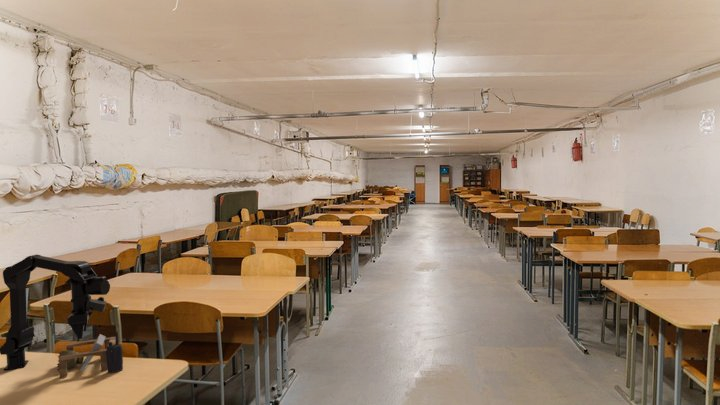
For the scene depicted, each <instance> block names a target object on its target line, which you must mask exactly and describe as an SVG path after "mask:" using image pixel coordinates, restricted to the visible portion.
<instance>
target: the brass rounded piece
mask: <svg viewBox="0 0 720 405" xmlns="http://www.w3.org/2000/svg"><path fill="white" fill-rule="evenodd" d="M77 353H79V352H78V351H76V350H74V351H71V350H67V349H60V352H59V355H58V357H57V358H59V357H60V356H64V355H70V354H77ZM84 360H85V357H79V358H73V359H67V370H70V369H73V368H75V367H77V366H78V365H82V364H83V362H84ZM57 362H58V363H57V364H56V365H57V366H56V368H57V369H56V371H57V372H58V371H60V368H59V359H58V360H57Z"/></svg>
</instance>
